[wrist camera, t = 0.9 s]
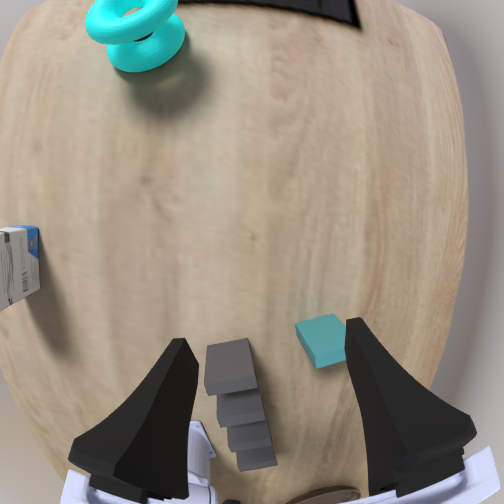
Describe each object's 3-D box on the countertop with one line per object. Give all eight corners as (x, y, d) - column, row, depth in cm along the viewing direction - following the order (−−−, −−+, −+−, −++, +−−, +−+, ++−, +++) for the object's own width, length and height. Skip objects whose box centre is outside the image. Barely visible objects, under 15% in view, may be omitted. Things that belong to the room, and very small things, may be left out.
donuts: (114, -27, 14) (194, -26, 15) (134, 15, 23) (199, 23, 25) (64, 35, 15) (144, 38, 16) (98, 71, 25) (164, 82, 26)
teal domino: (334, 324, 33) (361, 354, 25) (296, 334, 33) (316, 369, 25) (333, 313, 33) (361, 342, 25) (295, 323, 32) (314, 356, 25)
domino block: (257, 379, 33) (265, 419, 25) (220, 386, 33) (220, 427, 25) (254, 370, 33) (263, 410, 25) (217, 377, 33) (216, 418, 25)
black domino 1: (250, 348, 32) (257, 387, 25) (210, 356, 32) (208, 395, 24) (247, 338, 32) (254, 375, 24) (207, 345, 32) (203, 384, 24)
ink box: (16, 224, 26) (-43, 234, 15) (39, 226, 27) (-22, 238, 15) (18, 284, 28) (-35, 310, 16) (41, 289, 28) (-13, 320, 17)
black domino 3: (268, 426, 35) (277, 465, 27) (236, 432, 35) (240, 471, 27) (267, 420, 35) (276, 459, 27) (234, 426, 34) (237, 466, 27)
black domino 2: (263, 405, 34) (272, 445, 26) (228, 411, 34) (231, 452, 26) (261, 397, 34) (270, 437, 26) (226, 404, 34) (227, 445, 26)
